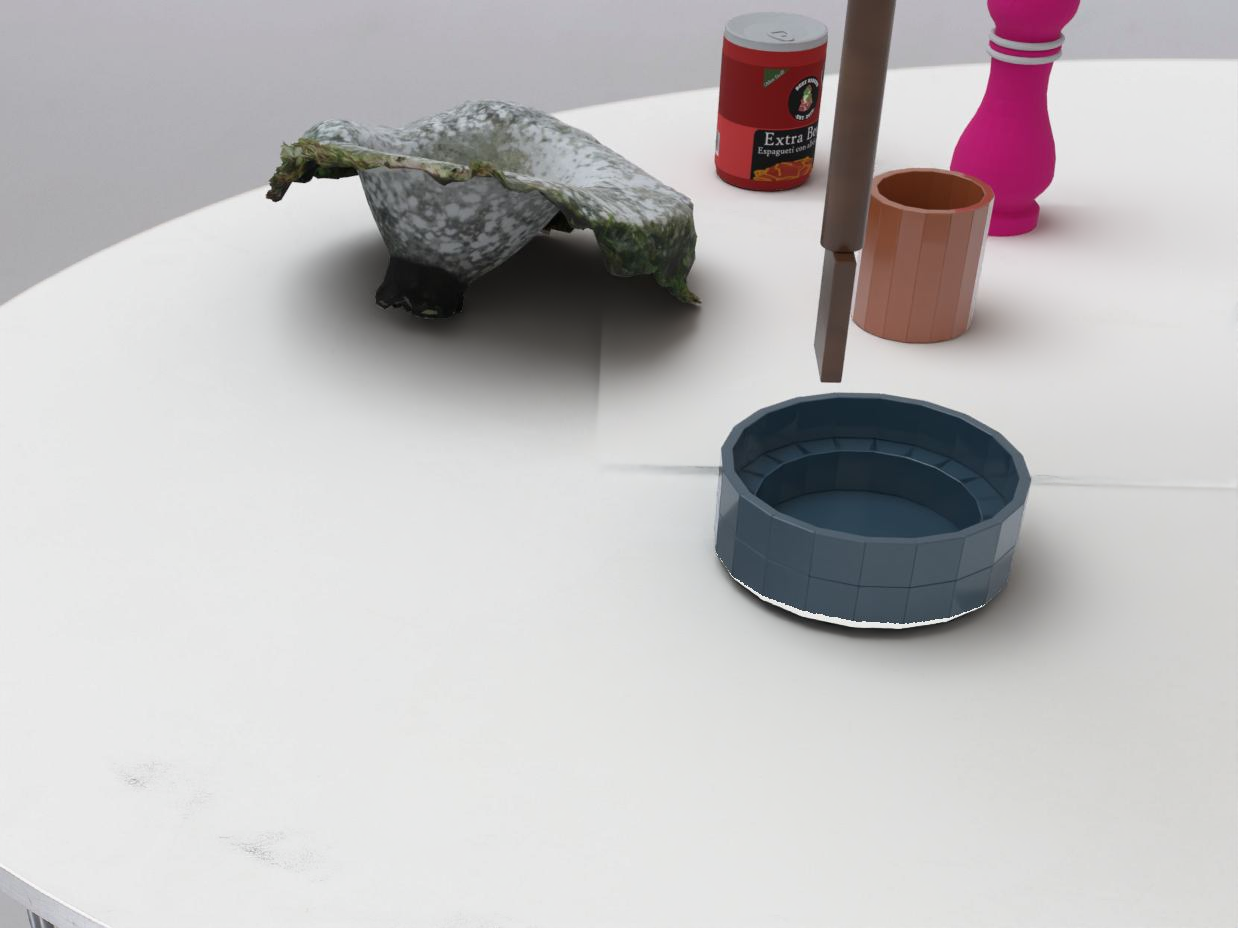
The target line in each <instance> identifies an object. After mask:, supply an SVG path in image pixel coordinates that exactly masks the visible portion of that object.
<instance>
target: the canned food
mask: <svg viewBox="0 0 1238 928" xmlns="http://www.w3.org/2000/svg"><path fill="white" fill-rule="evenodd" d="M828 33H829V28H828V26H827V25H826V24H825V23H823V22H822V21H820V20H818V19H816V18H813V17H811V16H808V15H803V14H798V13H792V12H783V11H761V12H760V11H759V12H750V13H745V14H741V15H738V16H735V17H732V18H731V19H729V20H727V22H726V23H725V25H724V30H723V37H722V48H721V60H720V61H721V62H720V73H719V75H720V76H719V91H718V105H717V117H716V119H717V121H716V133H715V134H716V135H715V148H714V166H715V170H716V173H717V176H719V178H720V179H721V180H722V181H724V182H726V183H727V184H729V185H731V186H735V187H738V188H741V189H744V190H745V189H746V190H751V191H763V192H777V191H785V190H786V191H787V190H790V189H794V188H797V187H800V186H801V185H803V184H804V183H806V182H807V181H808V180H809V178H810V177H811V174H812V172H813V169H814V165H815V156H816V148H817V139H818V132H819V131H818V130H819V123H820V122H819V121H820V114H821V105H822V96H823V86H824V79H825V72H826V71H825V69H826V61H827V53H828V52H827V50H828V42H829V35H828Z"/></svg>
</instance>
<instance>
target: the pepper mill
mask: <svg viewBox="0 0 1238 928" xmlns="http://www.w3.org/2000/svg"><path fill="white" fill-rule="evenodd" d="M986 5H987V11H988V13H989V16H990V18H991V19H992V21H993V23H994V27H993V28H991V29H990V31H989V32H988V38H989V41H988V44H987V45H986V48H985V50H986V53H987V54H988V55H989V56H990V68H989V76H988V80H987V84H986V87H985V88H986V89H985V91H984V95H983V97H982V100H981V102H980V104H979V106H978V108H977V110H976V112H975V113H974V115H973V116H972V118H971V119H970V121H969V122H968V123H967V125H966V127H965V128H964V130H963V131H962V133H961V134H960V136H959V138H958V141H957V143H956V145H955V147H954V150H953V152H952V157H951V160H950V164H949V171H956V172H960V173H963V174H966V175H969V176H972V177H975V178H977V179H980V180H981V181H983V182H984V183H986V184H987V185H989V186H990V187H991V188H992V191H993V193H994V195H995V198H994V203H993V209H992V214H991V220H990V225H989V231H988V236H987V237H998V238H999V237H1002V238H1004V237H1015V236H1022V235H1026V234H1028V233H1030V232H1032V231H1033V230H1035V229H1036V227H1037V225H1038V221H1039V217H1040V216H1039V215H1040V211H1041V207H1040V204H1039V203H1038V202H1037V200H1036V199H1037V198H1038V197H1039V196H1040V195H1041V194H1043V193H1045V191H1046V190H1047V189H1048V188H1049V187H1050V186H1051V184H1052V182H1053V180H1054V178H1055V171H1056V169H1055V168H1056V164H1057V163H1056V161H1057V155H1056V154H1057V153H1056V143H1055V138H1054V134H1053V129H1052V126H1051V121H1050V114H1049V109H1048V89H1049V82H1050V76H1051V73H1052V70H1053V66H1054V63H1055V61H1057V60H1060V58H1062V56H1063V49H1062V47H1063V44H1064V43H1065V41H1066V37H1065V34H1063V32H1062V30H1063V29H1064V27H1066V26H1067V25H1068V24H1069V23H1070V22H1071V21H1072V20H1073V19H1074V17H1075V16H1076V15H1077V12H1078V10H1079V7H1080V5H1081V0H986Z"/></svg>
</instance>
